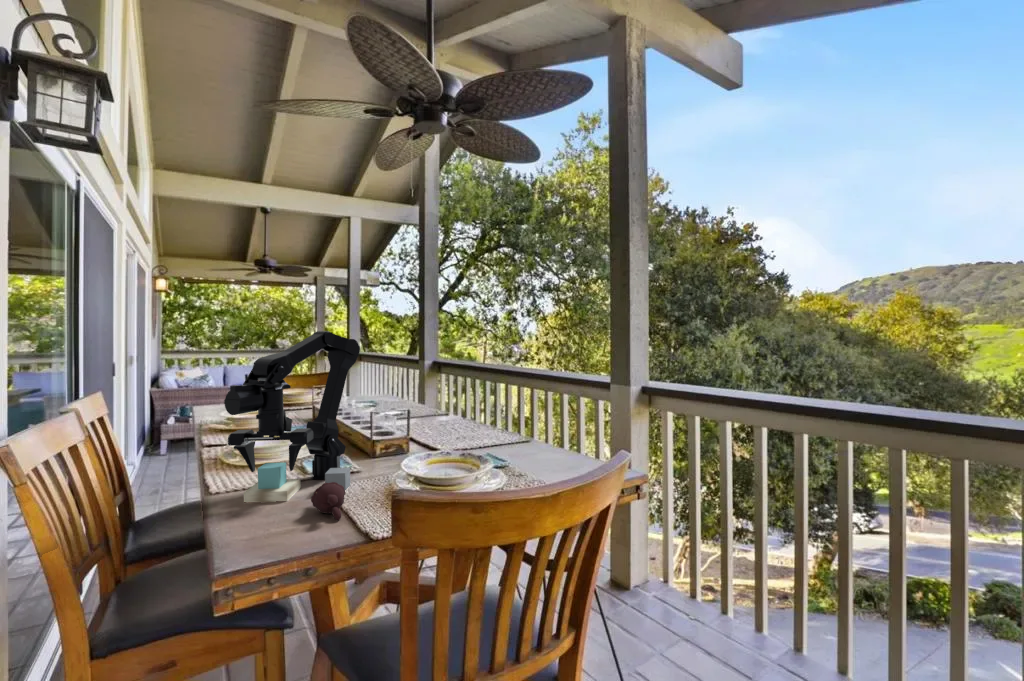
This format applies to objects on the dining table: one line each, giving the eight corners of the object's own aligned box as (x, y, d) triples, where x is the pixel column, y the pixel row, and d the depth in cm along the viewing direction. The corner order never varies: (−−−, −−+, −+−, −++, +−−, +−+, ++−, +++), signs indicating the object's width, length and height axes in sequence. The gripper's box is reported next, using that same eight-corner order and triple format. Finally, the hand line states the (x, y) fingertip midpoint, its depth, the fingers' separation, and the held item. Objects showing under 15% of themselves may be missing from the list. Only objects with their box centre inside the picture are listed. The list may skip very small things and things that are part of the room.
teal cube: (286, 482, 132) (286, 462, 132) (279, 488, 127) (278, 467, 127) (266, 482, 131) (265, 463, 131) (258, 488, 126) (257, 468, 126)
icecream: (302, 478, 121) (313, 503, 109) (334, 466, 125) (348, 489, 112) (310, 504, 123) (322, 532, 110) (342, 492, 126) (356, 517, 114)
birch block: (300, 490, 135) (300, 478, 135) (287, 503, 125) (287, 491, 125) (260, 491, 134) (260, 480, 134) (244, 505, 124) (243, 492, 124)
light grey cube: (350, 486, 136) (350, 467, 136) (345, 492, 131) (345, 473, 131) (330, 487, 136) (330, 468, 135) (325, 493, 131) (324, 473, 130)
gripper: (319, 402, 137) (320, 461, 138) (246, 404, 136) (247, 463, 136) (305, 409, 126) (307, 473, 126) (225, 411, 125) (227, 476, 125)
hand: (272, 471), depth 129 cm, fingers open, 9 cm apart
